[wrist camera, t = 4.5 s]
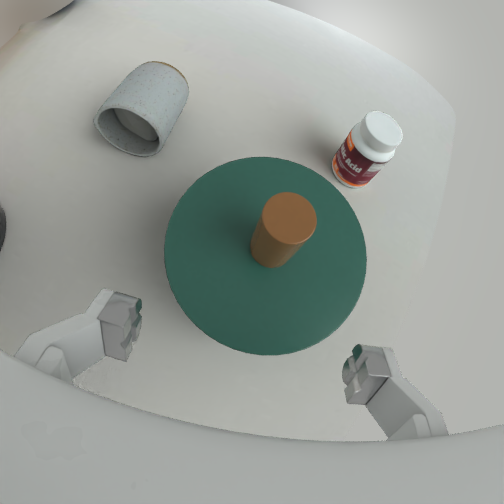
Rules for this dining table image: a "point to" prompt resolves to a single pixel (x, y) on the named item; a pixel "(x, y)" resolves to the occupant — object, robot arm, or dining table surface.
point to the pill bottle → (366, 149)
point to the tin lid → (265, 256)
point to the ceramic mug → (143, 109)
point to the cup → (2, 226)
